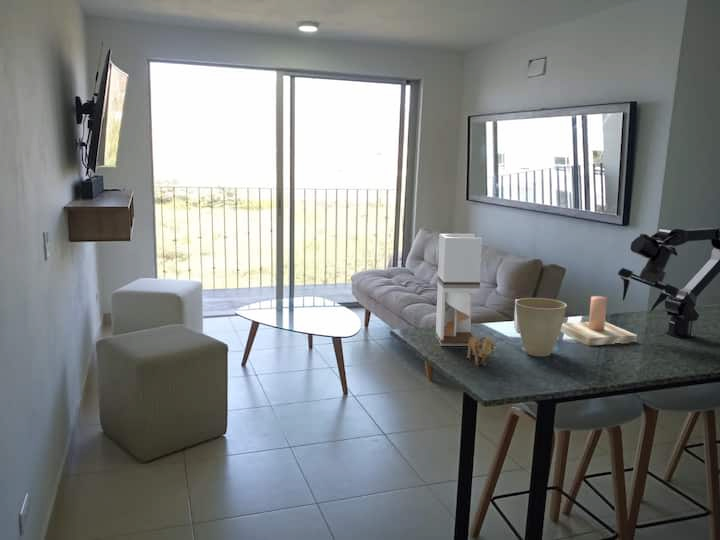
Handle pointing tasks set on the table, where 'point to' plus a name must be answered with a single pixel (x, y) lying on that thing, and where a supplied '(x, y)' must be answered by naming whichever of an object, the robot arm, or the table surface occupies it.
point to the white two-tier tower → (457, 286)
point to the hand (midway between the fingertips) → (637, 305)
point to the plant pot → (539, 324)
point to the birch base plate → (597, 334)
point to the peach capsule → (597, 313)
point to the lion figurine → (480, 348)
